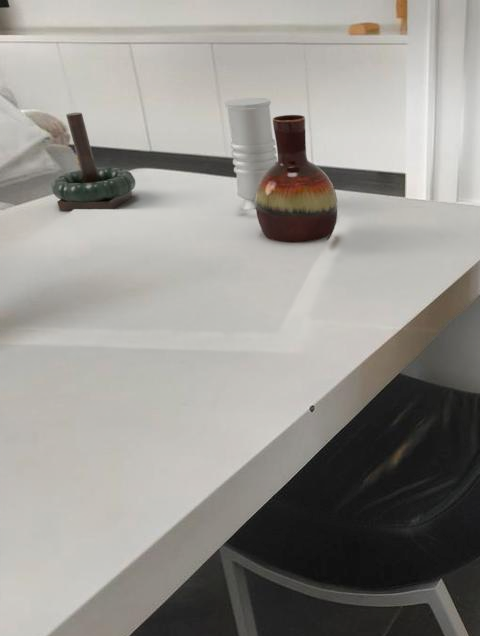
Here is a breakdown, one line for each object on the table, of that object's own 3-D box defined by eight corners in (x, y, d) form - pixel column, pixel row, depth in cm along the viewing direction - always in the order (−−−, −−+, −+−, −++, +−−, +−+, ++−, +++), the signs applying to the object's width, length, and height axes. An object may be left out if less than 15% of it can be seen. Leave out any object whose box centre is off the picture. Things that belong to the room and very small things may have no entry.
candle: (287, 201, 112) (277, 97, 103) (273, 213, 107) (261, 105, 98) (248, 199, 114) (235, 97, 105) (232, 211, 108) (216, 105, 99)
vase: (266, 229, 100) (252, 111, 91) (341, 227, 100) (335, 108, 91) (254, 255, 92) (237, 127, 82) (336, 253, 91) (328, 124, 82)
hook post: (59, 210, 113) (32, 119, 104) (84, 196, 120) (60, 109, 112) (111, 210, 112) (88, 118, 103) (132, 195, 119) (113, 108, 110)
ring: (40, 204, 111) (34, 185, 109) (77, 183, 121) (72, 166, 119) (116, 204, 109) (112, 185, 107) (148, 182, 119) (144, 165, 118)
